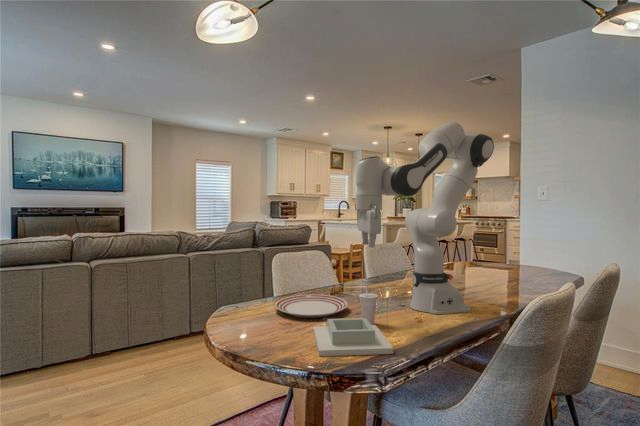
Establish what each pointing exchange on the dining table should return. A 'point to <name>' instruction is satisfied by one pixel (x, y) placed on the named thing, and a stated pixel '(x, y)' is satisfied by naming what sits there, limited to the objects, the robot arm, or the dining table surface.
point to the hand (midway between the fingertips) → (368, 246)
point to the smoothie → (368, 305)
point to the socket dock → (350, 338)
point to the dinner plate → (311, 305)
